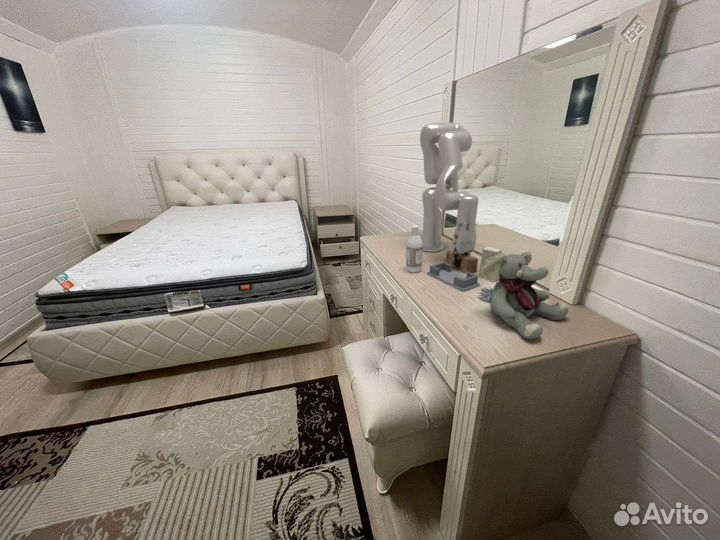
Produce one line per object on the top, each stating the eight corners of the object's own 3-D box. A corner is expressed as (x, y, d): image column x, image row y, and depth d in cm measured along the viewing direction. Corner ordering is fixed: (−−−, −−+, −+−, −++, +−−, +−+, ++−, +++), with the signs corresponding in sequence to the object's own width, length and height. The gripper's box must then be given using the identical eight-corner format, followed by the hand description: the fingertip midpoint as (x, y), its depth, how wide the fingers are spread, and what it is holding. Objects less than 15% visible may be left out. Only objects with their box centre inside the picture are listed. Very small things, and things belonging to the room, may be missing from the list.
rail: (427, 274, 126) (427, 265, 124) (442, 269, 130) (443, 261, 129) (463, 291, 110) (464, 282, 108) (479, 285, 114) (481, 276, 112)
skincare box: (478, 276, 122) (481, 248, 117) (482, 273, 125) (486, 245, 120) (493, 280, 118) (498, 252, 113) (497, 276, 121) (502, 248, 116)
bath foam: (413, 274, 127) (414, 229, 119) (402, 269, 132) (403, 226, 124) (425, 270, 130) (427, 226, 122) (414, 265, 135) (415, 223, 128)
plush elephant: (576, 321, 90) (594, 258, 82) (531, 345, 80) (547, 277, 72) (500, 288, 111) (508, 236, 103) (457, 304, 102) (463, 248, 94)
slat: (445, 263, 136) (446, 251, 133) (452, 261, 137) (453, 249, 135) (470, 273, 124) (471, 260, 122) (476, 271, 126) (478, 258, 124)
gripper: (458, 231, 116) (453, 272, 124) (486, 223, 124) (480, 263, 131) (444, 226, 122) (440, 266, 130) (472, 220, 129) (467, 258, 137)
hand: (460, 264), depth 130 cm, fingers closed on slat, 4 cm apart
